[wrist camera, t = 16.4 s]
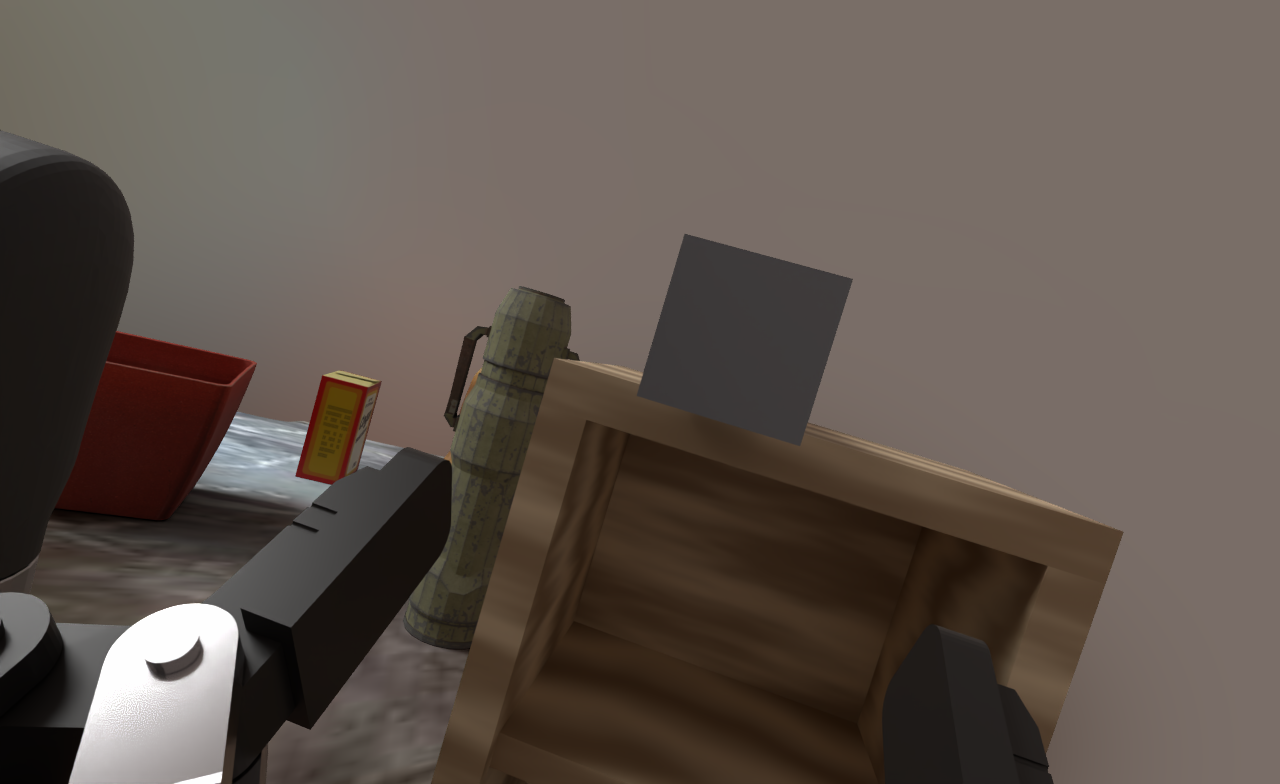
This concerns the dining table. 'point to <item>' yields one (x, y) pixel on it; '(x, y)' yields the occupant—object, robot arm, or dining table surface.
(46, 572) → the dining table surface
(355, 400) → the baking soda box
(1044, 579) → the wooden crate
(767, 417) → the gray rectangular bar
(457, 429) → the thermos
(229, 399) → the plant pot
